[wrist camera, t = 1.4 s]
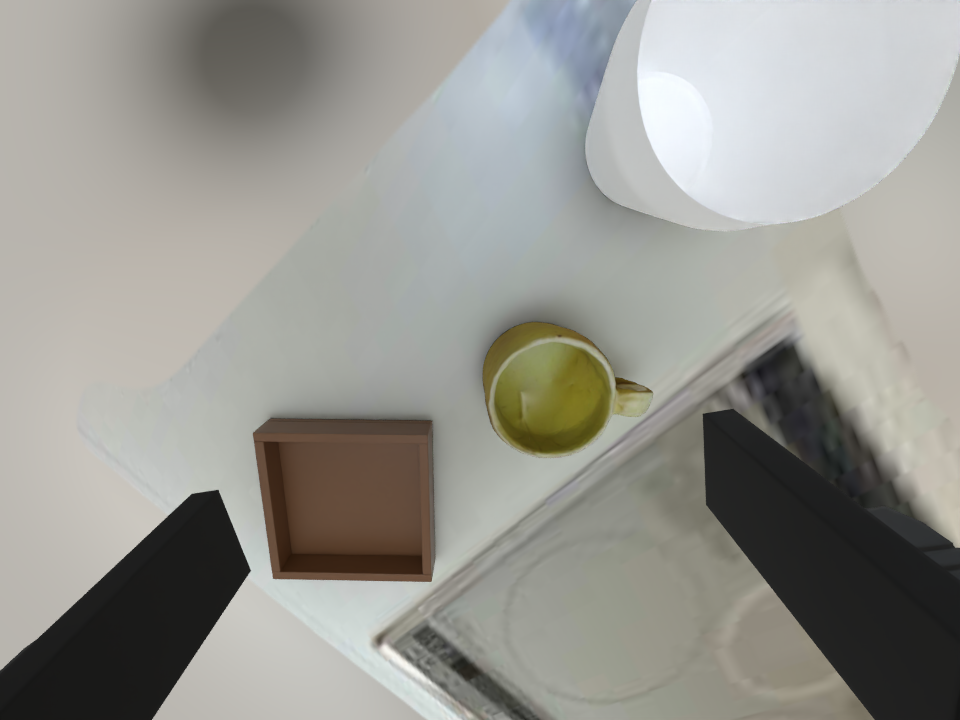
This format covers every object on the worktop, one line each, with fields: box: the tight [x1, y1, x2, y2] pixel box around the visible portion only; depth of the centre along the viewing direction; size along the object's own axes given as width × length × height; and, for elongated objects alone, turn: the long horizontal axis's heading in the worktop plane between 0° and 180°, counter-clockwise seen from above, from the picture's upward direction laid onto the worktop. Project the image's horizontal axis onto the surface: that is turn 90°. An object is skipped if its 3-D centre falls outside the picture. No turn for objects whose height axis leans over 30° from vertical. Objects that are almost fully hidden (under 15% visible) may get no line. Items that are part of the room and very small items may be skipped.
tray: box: [253, 418, 435, 582], centre depth 41 cm, size 15×15×3 cm
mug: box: [483, 322, 653, 458], centre depth 35 cm, size 12×10×10 cm
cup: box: [585, 0, 960, 231], centre depth 26 cm, size 13×13×17 cm
